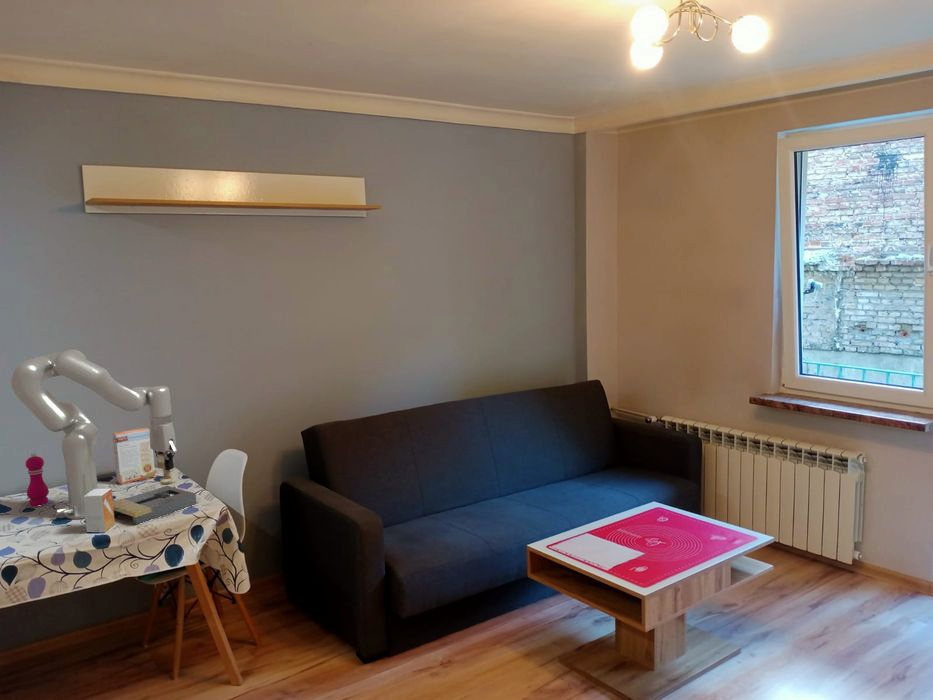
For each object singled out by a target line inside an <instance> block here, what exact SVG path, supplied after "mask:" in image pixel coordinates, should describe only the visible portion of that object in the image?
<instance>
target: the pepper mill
mask: <svg viewBox="0 0 933 700" xmlns="http://www.w3.org/2000/svg"><path fill="white" fill-rule="evenodd" d="M37 454H38V453H36V452H32V453H31V457H29V458H27V459H26V461H25V467H26V469H28V470H27V474H28V475H29V479H30V481H29V485H28V487H27V490H26V497H27V498H28V499H29V500H28V502H29V503H28V504H29V506H30V505H31V506H30V507H33V506H35V507H39V506H38V505H42V506H44V505H43V504H45V505H47V504H49V497H47V496H48V495H49V492H50V490H49V488H48V486H47V484H46V483H45V481H44V478H43V473H44V468H43V467H44V464H45V461H44V459H43V458H42V457H41V456H38V455H37ZM46 503H47V504H46Z"/></svg>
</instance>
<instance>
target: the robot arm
mask: <svg viewBox="0 0 933 700" xmlns="http://www.w3.org/2000/svg"><path fill="white" fill-rule="evenodd" d="M59 376H60V377H61V376H63V377H65V378H67V379H68V380H71V381H73V382H74V383H75V382H76V383H77V384H79V385H80V386H81V385H82V386H84V387H86V388H87V389H89V390H91V391H93V392H94V394H96V395H98V396H99V397H100V398H102V399H103V400H105V401H106V402H108V403H110V404H111V405H113V406H115V407H118V408H119V409H123V410H125V411H126V412H132V413H133V412H138V411H140V410H141V409H142V408H144V407H146V406H148V413H149V421H150V422H149V429H150V448H151V449H152V450H153V452H154V453H155V457H156V458H157V455H158V454H162V453H164V454H165V458H166V459H165V469H166V470H170V471H171V470H173V469H174V468H175V460H174V461H173V458H175V454H176V453H177V452H178V451H177V442H176V434H175V429H174V425H173V423H174V422H173V413H172V403H171V392H170V388H169V387H168V386H165V385H159V386H157V385H156V386H152V387H151V386H149V387H148V386H135V387H131V388H128V387H126V386H125V385H123V384H120V382H119V383H118V381H116V380H115V379H114V378H112V376H111V375H110V373H109V371H108V370H107V369H106V368H104V367H102V366H101V365H100V366H99V365H98V364H96V363H94V362H92V361H89V360H87V357H86V355H85V354H84V353H83V352H82V351H80V350H78V349H66V350H62V351H58V352H54V353H49V354H44V355H40V356H36V357H33V358H31V359H27V360H24V361H23V362H21V363H20V364H19V365H18V366H17V367H16V368H15V369H14V371H13V373H12V374H11V380H10V381H11V382H10V384H11V385H10V386H11V388H12V389H11V390H12V391H13V393H14V395H15V397H17V398H18V400H19V401H20V402H21V403H22V404H23V405H24V406H25V407H26V408H27V409H28V410H29V411H30V412H31V413H32V415H34V417H36V419H38V421H40V423H41V424H42V425H43V426H44V427H45V428H46V429H47V430H49V431H50V432H52V433H59V432H62V431H63V433H65V434H64V436H63V437H62V439H61V440H62V441H61V452H62V455H63V460H64V466H65V476H66V485H67V494H68V503H66V504H65V506H64V507H61V508H59V509H55V515H56V516H60V515H64V516H65V518H67V519H71V520H79V519H80V520H82V519H86V518H85V507H84V496H85V495H86V494H88V493H89V492H91V491H92V490H93V489H99V488H98V478H97V477H98V476H97V469H96V459H95V455H94V452H93V451H94V450H93V447H94V446H95V445H96V444H97V442H98V441H99V439H100V433H99V429H98V427H97V426H96V425H95V424H94V423H93V422H92V420H90V419H89V418H88V417H87V415H86V414H85V413H84V412H83V411H82V410H81V409H80V408H79V407H78V406H77V405H76V404H74V403H72V402H70V401H67V400H62V401H59V400H57V399H56V398H55V397H54V396H53V395H52V393H50V391H48V389H46V388H44V387H43V386H42V385H41V382H43V381H44V380H46V379H47V380H48V379H50V378H51V379H52V378H55V377H59ZM167 452H169V454H168V453H167ZM156 462H157V463H156V464H158V460H157V459H156Z"/></svg>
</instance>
